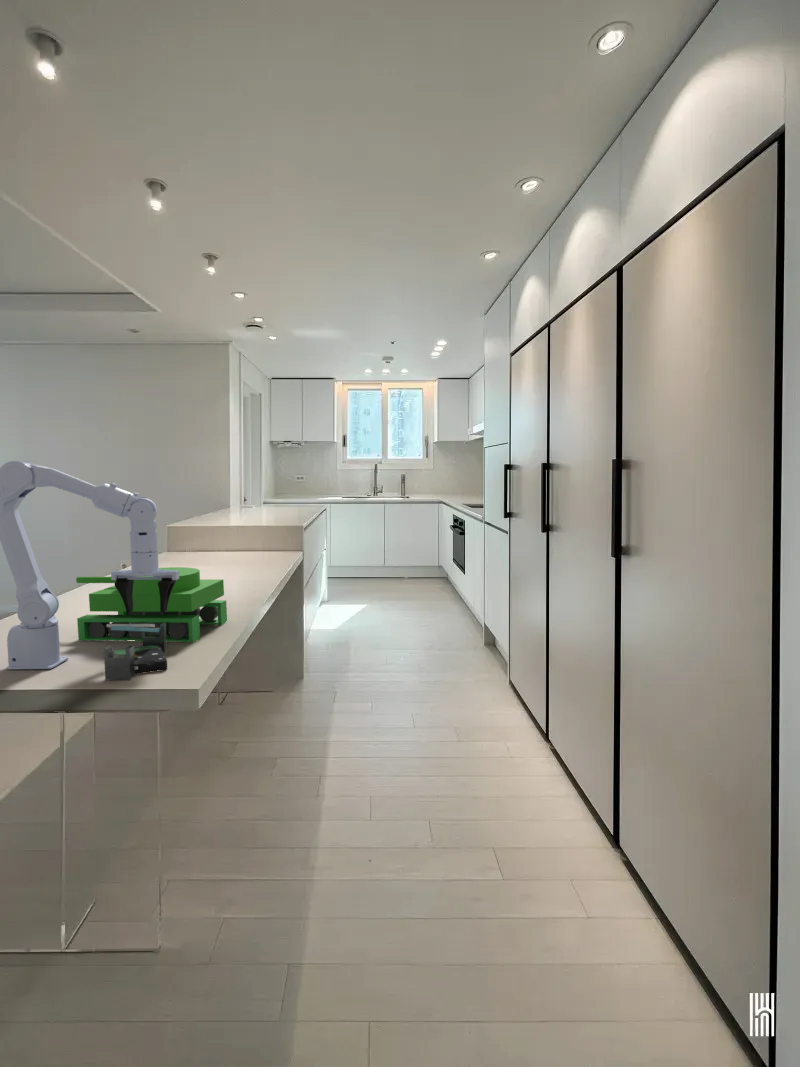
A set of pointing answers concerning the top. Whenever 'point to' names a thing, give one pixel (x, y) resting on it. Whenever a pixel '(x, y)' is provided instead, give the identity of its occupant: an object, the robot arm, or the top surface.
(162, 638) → the hinge bracket
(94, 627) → the tank
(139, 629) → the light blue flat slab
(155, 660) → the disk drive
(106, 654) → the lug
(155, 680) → the top surface
